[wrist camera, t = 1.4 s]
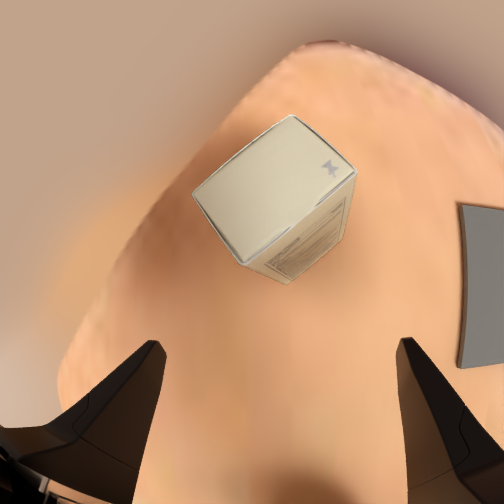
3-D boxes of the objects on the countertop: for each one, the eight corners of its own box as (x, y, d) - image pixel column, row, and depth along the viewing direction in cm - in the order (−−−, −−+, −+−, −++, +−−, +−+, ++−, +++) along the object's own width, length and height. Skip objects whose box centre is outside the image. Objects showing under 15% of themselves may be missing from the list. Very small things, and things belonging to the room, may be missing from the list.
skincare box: (310, 200, 23) (296, 105, 12) (344, 238, 22) (366, 166, 10) (251, 248, 24) (184, 191, 12) (283, 289, 22) (241, 268, 11)
